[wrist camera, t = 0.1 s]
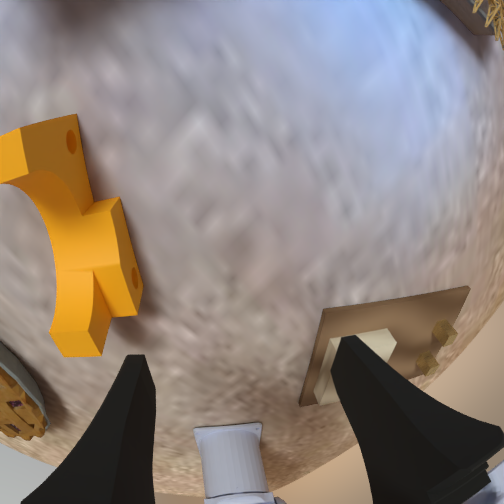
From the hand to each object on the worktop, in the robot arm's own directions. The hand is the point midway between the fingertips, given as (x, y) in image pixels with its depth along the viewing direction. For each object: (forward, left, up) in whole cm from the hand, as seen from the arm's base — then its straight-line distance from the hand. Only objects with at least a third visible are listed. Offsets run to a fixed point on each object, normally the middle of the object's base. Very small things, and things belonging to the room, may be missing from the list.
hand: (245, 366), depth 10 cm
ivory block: (-13, -12, -9) cm, 20 cm away
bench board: (-13, -17, -10) cm, 24 cm away
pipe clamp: (+3, +8, -10) cm, 14 cm away
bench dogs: (-13, -23, -9) cm, 28 cm away
